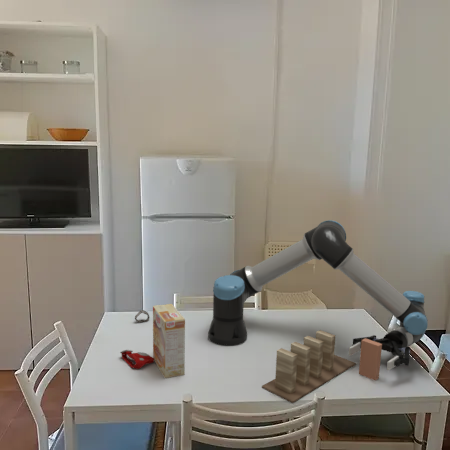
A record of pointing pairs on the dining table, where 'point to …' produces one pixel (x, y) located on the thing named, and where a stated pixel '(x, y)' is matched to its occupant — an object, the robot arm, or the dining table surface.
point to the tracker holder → (136, 358)
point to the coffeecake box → (169, 340)
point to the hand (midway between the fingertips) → (368, 358)
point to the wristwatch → (139, 314)
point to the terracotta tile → (370, 359)
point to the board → (311, 381)
